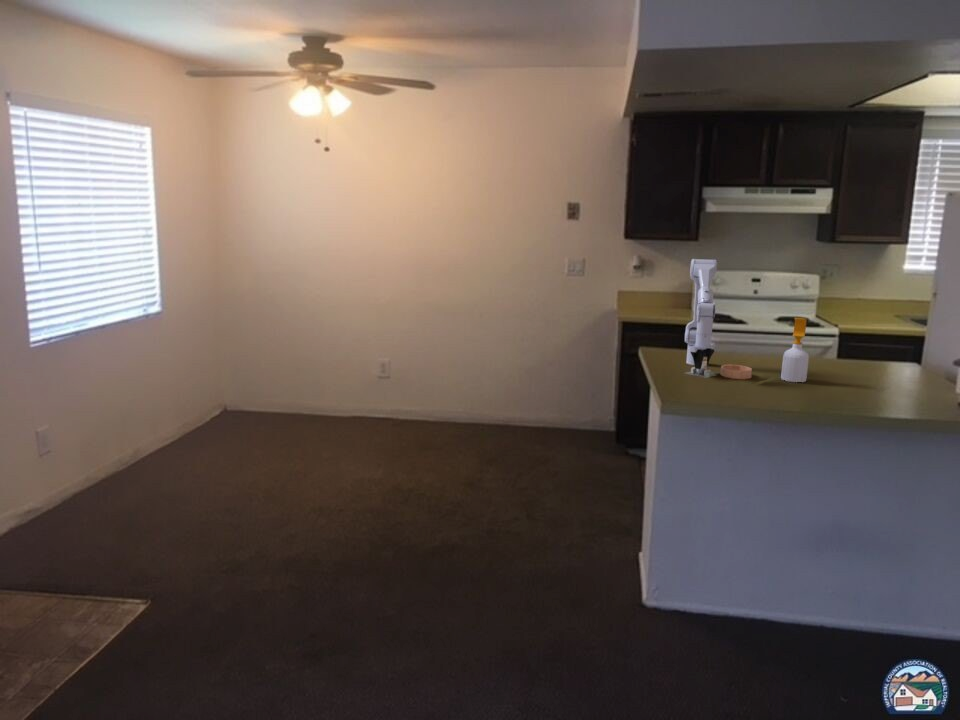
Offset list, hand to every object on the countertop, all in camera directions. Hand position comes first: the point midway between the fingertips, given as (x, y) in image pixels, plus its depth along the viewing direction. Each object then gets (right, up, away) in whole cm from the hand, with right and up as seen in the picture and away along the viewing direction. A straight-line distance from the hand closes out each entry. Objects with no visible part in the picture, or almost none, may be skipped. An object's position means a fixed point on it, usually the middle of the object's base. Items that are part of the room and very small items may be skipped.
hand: (700, 367), depth 282 cm
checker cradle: (0, -3, +1) cm, 3 cm away
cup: (+13, -4, 0) cm, 14 cm away
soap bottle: (+35, -5, -2) cm, 36 cm away
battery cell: (0, -2, +1) cm, 2 cm away
